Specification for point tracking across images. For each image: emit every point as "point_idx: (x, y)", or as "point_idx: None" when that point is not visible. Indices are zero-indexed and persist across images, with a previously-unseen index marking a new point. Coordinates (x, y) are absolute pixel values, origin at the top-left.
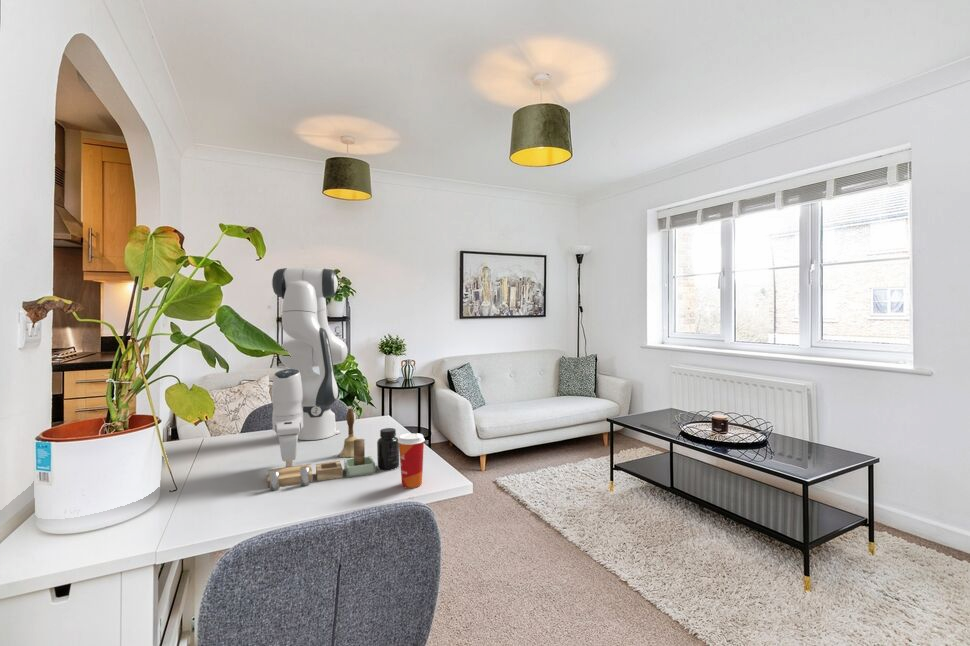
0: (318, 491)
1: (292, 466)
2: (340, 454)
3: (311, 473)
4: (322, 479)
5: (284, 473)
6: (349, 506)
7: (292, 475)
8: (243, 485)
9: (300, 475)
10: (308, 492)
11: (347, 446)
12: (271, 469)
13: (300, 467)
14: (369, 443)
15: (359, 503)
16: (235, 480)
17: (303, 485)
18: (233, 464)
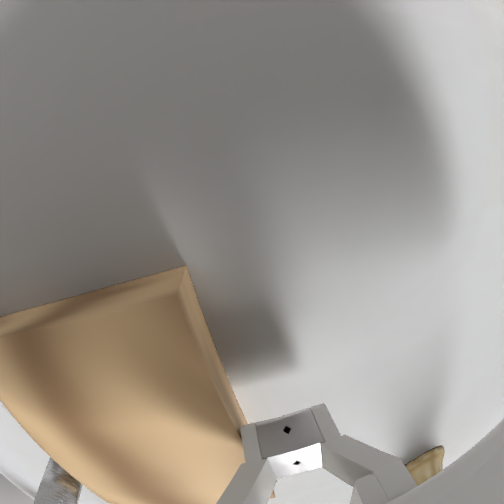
0: (39, 468)
1: None
2: (414, 466)
3: (113, 502)
4: None
5: (84, 434)
6: (8, 477)
7: (67, 458)
8: (27, 122)
9: (43, 480)
10: (22, 450)
11: None
12: (183, 334)
13: (213, 485)
14: (461, 453)
15: (25, 490)
16: (165, 3)
17: None
18: (471, 13)
